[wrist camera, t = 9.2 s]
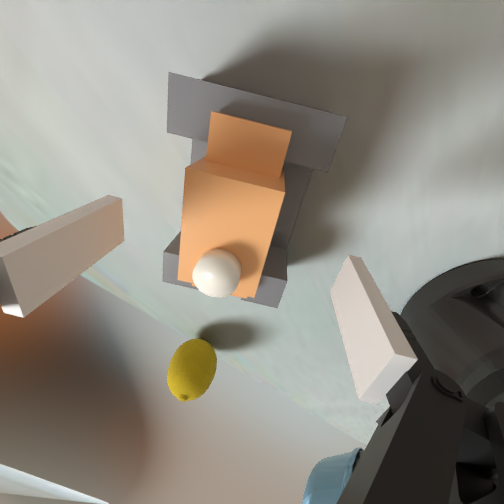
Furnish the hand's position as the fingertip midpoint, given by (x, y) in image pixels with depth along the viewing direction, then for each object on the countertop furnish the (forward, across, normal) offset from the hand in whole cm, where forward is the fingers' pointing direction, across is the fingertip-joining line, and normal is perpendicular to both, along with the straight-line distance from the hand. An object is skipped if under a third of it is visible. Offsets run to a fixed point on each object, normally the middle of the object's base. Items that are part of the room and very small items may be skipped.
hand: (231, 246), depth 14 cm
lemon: (+10, +2, +21) cm, 23 cm away
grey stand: (+10, +1, -1) cm, 10 cm away
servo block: (+9, +1, -1) cm, 9 cm away
